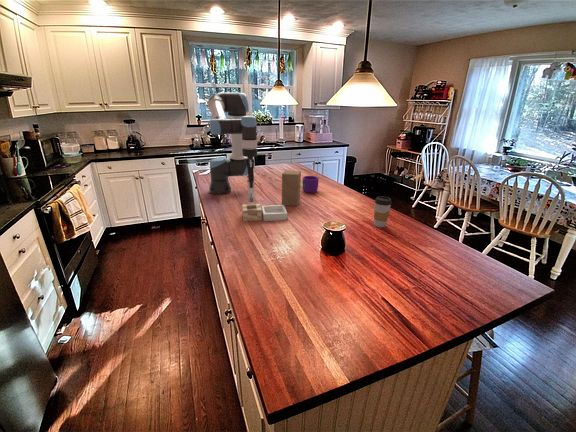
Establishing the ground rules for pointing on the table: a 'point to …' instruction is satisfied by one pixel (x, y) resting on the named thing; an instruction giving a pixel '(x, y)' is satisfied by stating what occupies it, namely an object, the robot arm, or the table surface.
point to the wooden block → (291, 187)
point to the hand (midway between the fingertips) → (251, 191)
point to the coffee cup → (381, 211)
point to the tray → (274, 213)
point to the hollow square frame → (251, 212)
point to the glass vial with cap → (250, 195)
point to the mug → (310, 184)
